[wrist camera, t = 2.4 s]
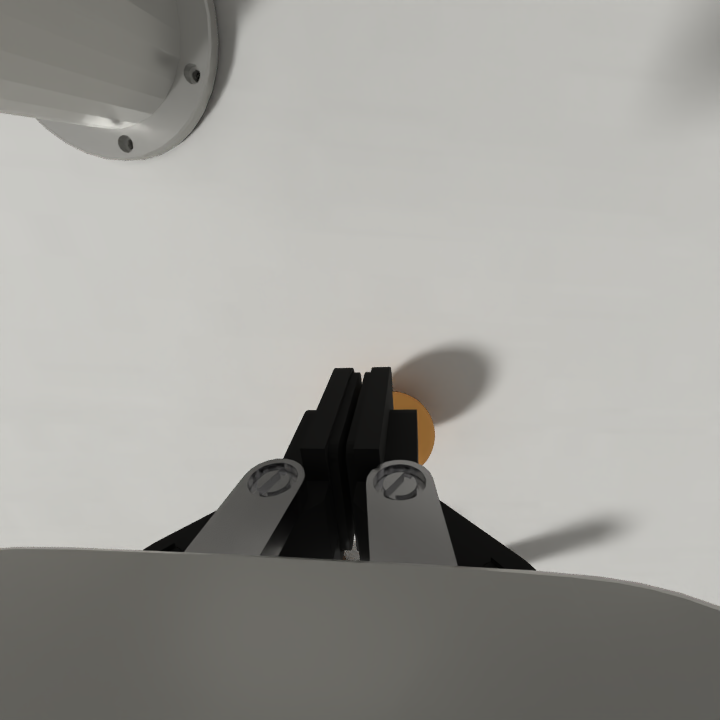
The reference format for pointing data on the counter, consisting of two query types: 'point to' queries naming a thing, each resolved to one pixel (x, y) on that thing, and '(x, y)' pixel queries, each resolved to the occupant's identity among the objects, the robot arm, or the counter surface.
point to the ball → (424, 424)
